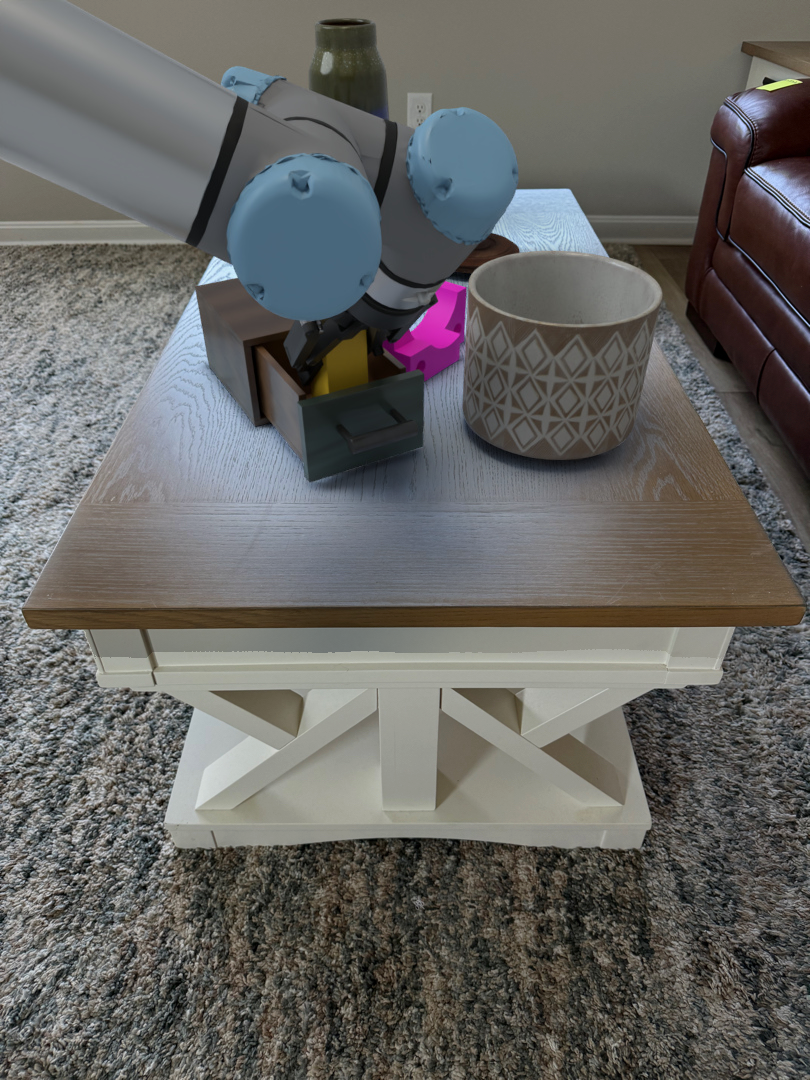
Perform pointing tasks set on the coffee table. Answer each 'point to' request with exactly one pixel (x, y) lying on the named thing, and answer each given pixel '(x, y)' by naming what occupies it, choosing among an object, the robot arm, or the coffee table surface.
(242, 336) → the cabinet
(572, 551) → the coffee table surface
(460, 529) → the coffee table surface
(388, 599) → the coffee table surface
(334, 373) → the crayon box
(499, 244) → the brown rounded piece
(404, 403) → the drawer
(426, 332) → the toy block
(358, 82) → the vase
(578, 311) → the planter
